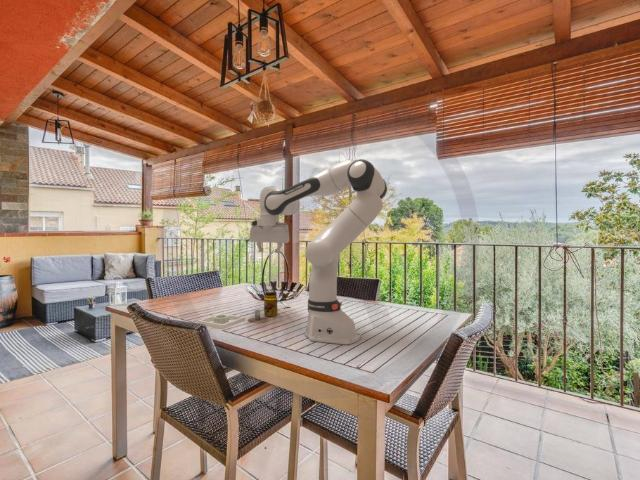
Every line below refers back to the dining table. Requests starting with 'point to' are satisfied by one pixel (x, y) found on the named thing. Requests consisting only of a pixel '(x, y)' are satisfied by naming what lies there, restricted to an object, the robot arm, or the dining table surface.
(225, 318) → the ring
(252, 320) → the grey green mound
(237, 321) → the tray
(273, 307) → the condiment
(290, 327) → the dining table surface
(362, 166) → the robot arm
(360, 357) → the dining table surface
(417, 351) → the dining table surface
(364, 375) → the dining table surface
